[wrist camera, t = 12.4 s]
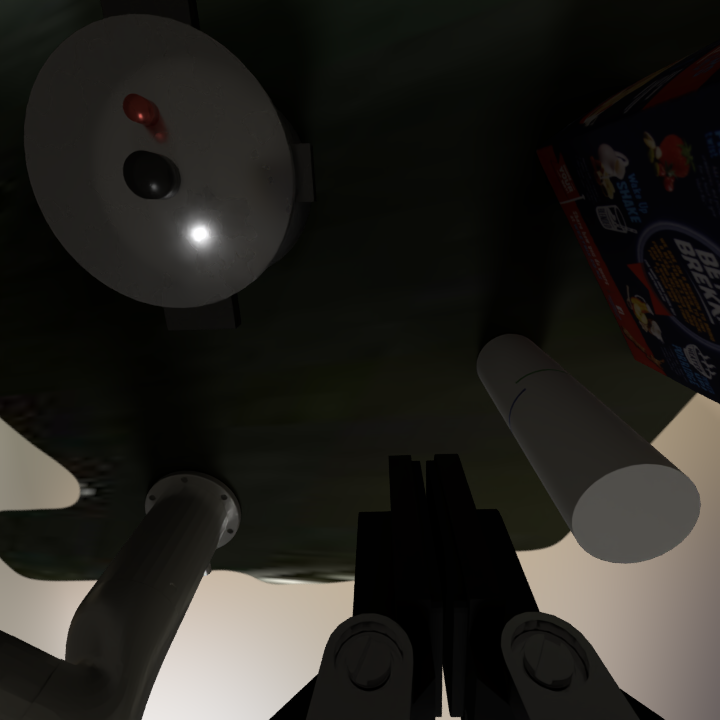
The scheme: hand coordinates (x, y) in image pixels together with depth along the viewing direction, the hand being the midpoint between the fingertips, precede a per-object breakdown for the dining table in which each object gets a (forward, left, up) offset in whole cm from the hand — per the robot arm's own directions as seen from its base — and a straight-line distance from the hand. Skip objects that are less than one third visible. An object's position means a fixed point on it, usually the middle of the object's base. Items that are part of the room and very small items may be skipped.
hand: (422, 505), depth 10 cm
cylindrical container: (-11, -14, -37) cm, 41 cm away
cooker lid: (+9, +16, -25) cm, 31 cm away
